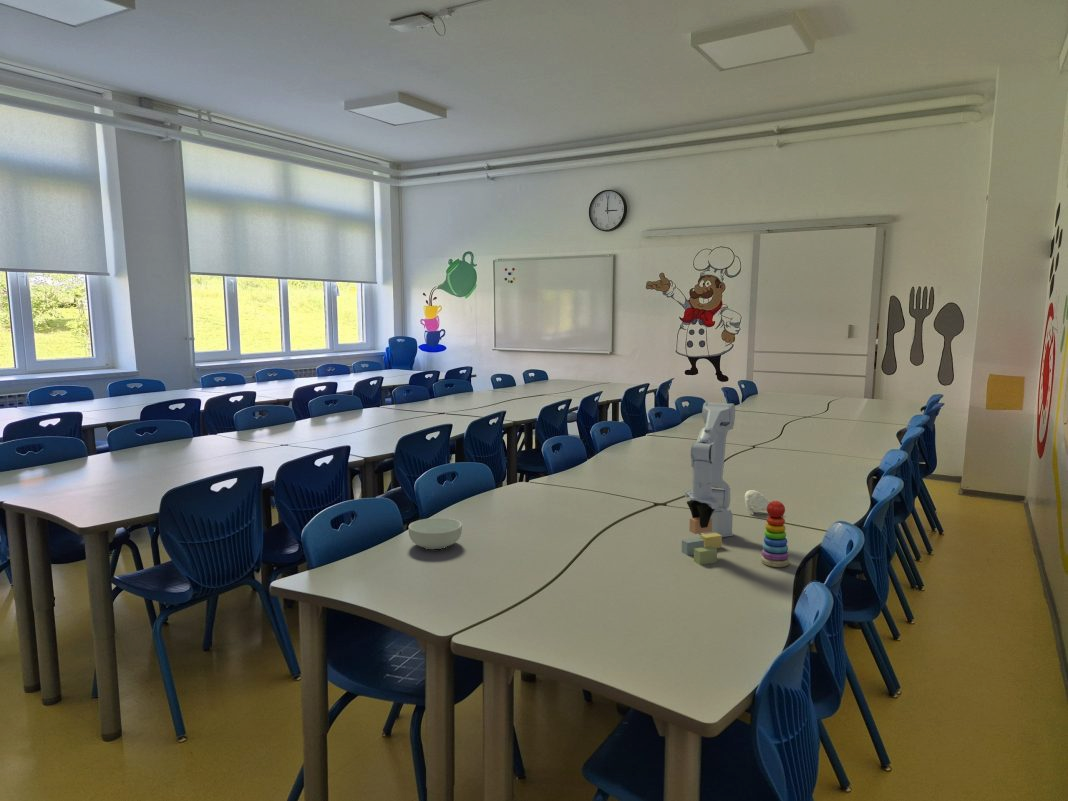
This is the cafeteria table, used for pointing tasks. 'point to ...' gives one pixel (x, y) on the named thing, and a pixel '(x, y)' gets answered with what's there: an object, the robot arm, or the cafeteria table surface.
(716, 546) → the mustard brick
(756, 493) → the white textured lump
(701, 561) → the olive brick
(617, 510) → the cafeteria table surface
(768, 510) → the stacking toy
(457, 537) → the cereal bowl
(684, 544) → the slate brick
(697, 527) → the terracotta brick
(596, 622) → the cafeteria table surface
